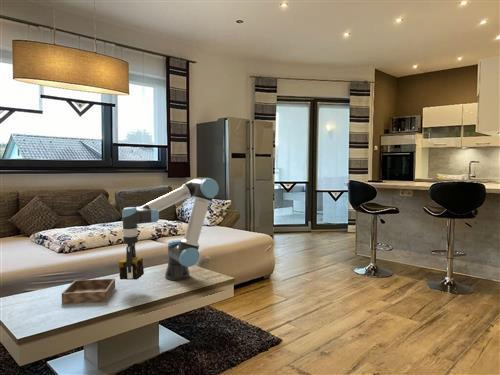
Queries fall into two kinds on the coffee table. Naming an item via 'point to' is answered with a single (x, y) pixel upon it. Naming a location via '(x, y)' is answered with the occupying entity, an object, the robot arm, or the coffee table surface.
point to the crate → (88, 291)
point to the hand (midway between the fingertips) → (131, 275)
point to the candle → (137, 268)
